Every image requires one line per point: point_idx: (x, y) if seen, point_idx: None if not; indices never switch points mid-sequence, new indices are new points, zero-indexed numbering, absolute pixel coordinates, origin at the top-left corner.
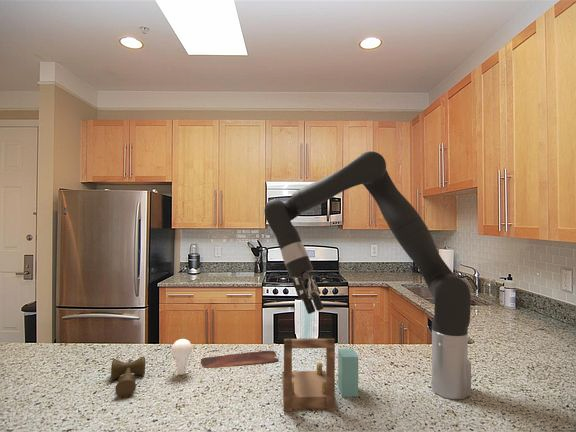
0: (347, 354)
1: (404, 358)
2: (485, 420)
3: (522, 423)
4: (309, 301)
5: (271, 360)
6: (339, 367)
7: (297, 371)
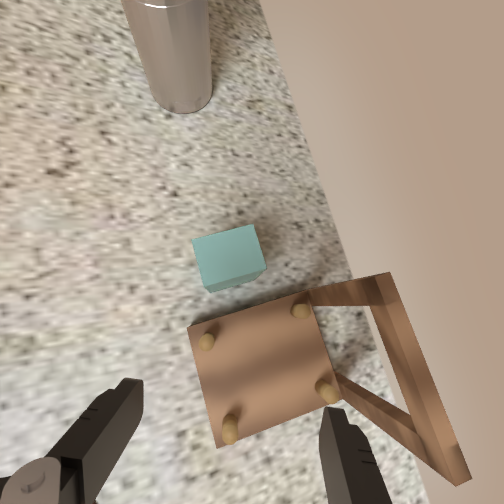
0: (243, 254)
1: (18, 140)
2: (264, 66)
3: (258, 25)
4: (375, 496)
5: None
6: (226, 284)
7: (207, 403)
